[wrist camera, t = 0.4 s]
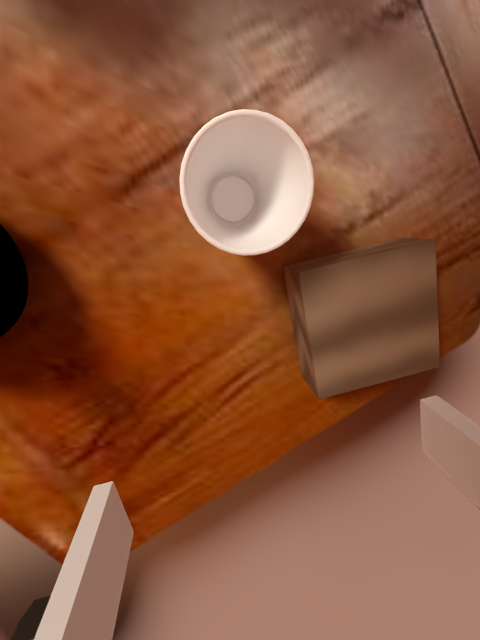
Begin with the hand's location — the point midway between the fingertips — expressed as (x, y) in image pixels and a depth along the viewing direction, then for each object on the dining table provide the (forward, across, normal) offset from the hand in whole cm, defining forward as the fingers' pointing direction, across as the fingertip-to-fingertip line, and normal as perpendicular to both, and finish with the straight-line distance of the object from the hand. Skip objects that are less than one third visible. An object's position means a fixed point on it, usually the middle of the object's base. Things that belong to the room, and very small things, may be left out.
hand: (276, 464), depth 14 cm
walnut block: (+25, +15, -3) cm, 29 cm away
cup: (+25, +3, +12) cm, 28 cm away
